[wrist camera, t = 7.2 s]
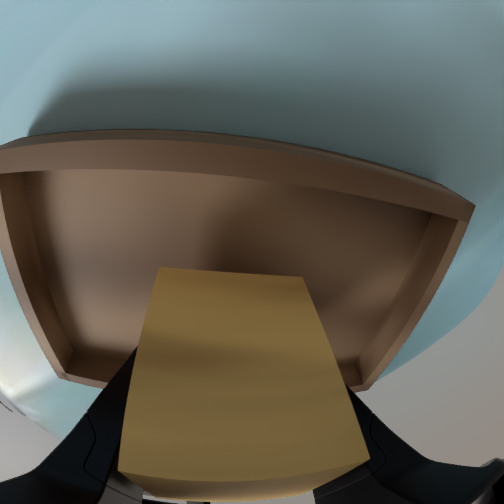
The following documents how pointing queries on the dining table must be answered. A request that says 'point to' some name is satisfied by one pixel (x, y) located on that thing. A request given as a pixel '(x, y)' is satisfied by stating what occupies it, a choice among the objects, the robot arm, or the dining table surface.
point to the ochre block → (235, 392)
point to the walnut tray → (216, 237)
